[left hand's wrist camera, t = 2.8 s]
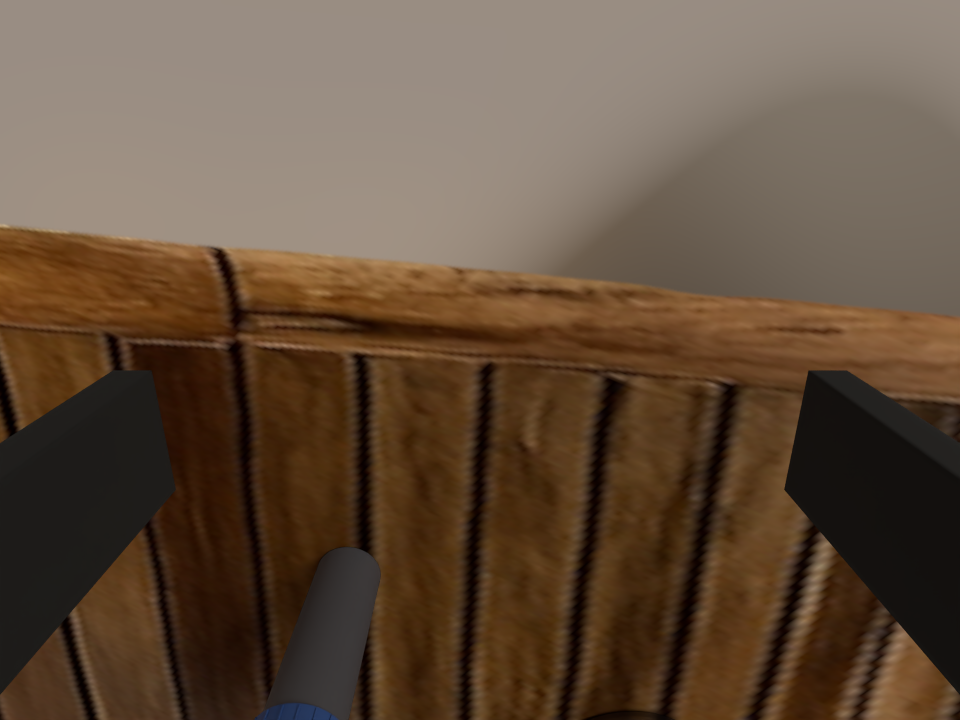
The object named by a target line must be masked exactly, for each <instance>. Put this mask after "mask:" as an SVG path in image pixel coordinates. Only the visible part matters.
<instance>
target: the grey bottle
mask: <svg viewBox="0 0 960 720" xmlns="http://www.w3.org/2000/svg"><path fill="white" fill-rule="evenodd" d="M379 582H380V568H379V566H378V564H377V562H376V561H375V559H374V558H373V557H372V556H371V555H369V554H368V553H366V552H365V551H363V550H360V549H357V548H352V547H341V548H337V549H334V550H332V551H330V552H328V553H327V554H325V555H324V556H323V557H322V559H321V560H320V562H319V564H318V567H317V570H316V572H315V575H314V578H313V580H312V583H311V586H310V588H309V591H308V594H307V596H306V599H305V602H304V604H303V607H302V610H301V612H300V615H299V618H298V620H297V623H296V626H295V628H294V631H293V634H292V636H291V639H290V642H289V644H288V647H287V650H286V652H285V655H284V658H283V660H282V663H281V666H280V668H279V671H278V674H277V676H276V679H275V682H274V684H273V687H272V690H271V692H270V695H269V698H268V700H267V703H266V706H265V708H264V711H265V710H267V709H268V708H271V707H273V706H276V705H280V704H285V703H303V704H309V705H313V706H316V707H319V708H322V709H324V710H326V711H328V712H329V713H331V714H332V715H334V716H335V717H336V718H337V719H338V720H349V715H350V711H351V706H352V702H353V697H354V693H355V688H356V684H357V680H358V675H359V671H360V666H361V662H362V657H363V653H364V648H365V644H366V640H367V635H368V631H369V626H370V622H371V617H372V613H373V608H374V604H375V599H376V595H377V591H378V586H379Z"/></svg>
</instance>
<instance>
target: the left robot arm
mask: <svg viewBox="0 0 960 720" xmlns="http://www.w3.org/2000/svg"><path fill="white" fill-rule="evenodd" d="M175 490H176V489H175V484H174V479H173V474H172V469H171V464H170V459H169V454H168V449H167V445H166V440H165V435H164V430H163V425H162V420H161V415H160V410H159V405H158V400H157V395H156V391H155V386H154V381H153V376H152V371H112V372H110V373H109V374H107V375H105V376H104V377H102V378H101V379H99V380H98V381H96V382H95V383H93V384H92V385H90V386H88V387H87V388H85V389H84V390H82V391H81V392H79V393H78V394H76V395H74V396H73V397H71V398H70V399H68V400H67V401H65V402H64V403H62V404H60V405H59V406H57V407H56V408H54V409H53V410H51V411H50V412H48V413H46V414H45V415H43V416H42V417H40V418H39V419H37V420H36V421H34V422H33V423H31V424H29V425H28V426H26V427H25V428H23V429H22V430H20V431H19V432H17V433H15V434H14V435H12V436H11V437H9V438H8V439H6V440H5V441H3V442H1V443H0V694H1V693H2V692H3V691H4V689H5V688H6V687H7V686H8V685H9V684H10V682H11V681H12V680H13V679H14V678H15V677H16V675H17V674H18V673H19V672H20V671H21V670H22V668H23V667H24V666H25V665H26V664H27V663H28V661H29V660H30V659H31V658H32V657H33V656H34V654H35V653H36V652H37V651H38V650H39V649H40V647H41V646H42V645H43V644H44V643H45V642H46V640H47V639H48V638H49V637H50V636H51V635H52V633H53V632H54V631H55V630H56V629H57V628H58V626H59V625H60V624H61V623H62V622H63V621H64V619H65V618H66V617H67V616H68V615H69V614H70V612H71V611H72V610H73V609H74V608H75V607H76V605H77V604H78V603H79V602H80V601H81V600H82V598H83V597H84V596H85V595H86V594H87V593H88V591H89V590H90V589H91V588H92V587H93V586H94V584H95V583H96V582H97V581H98V580H99V579H100V577H101V576H102V575H103V574H104V573H105V572H106V570H107V569H108V568H109V567H110V566H111V565H112V563H113V562H114V561H115V560H116V559H117V558H118V556H119V555H120V554H121V553H122V552H123V551H124V549H125V548H126V547H127V546H128V545H129V544H130V542H131V541H132V540H133V539H134V538H135V537H136V535H137V534H138V533H139V532H140V531H141V530H142V528H143V527H144V526H145V525H146V524H147V523H148V521H149V520H150V519H151V518H152V517H153V516H154V514H155V513H156V512H157V511H158V510H159V509H160V507H161V506H162V505H163V504H164V503H165V502H166V500H167V499H168V498H169V497H170V496H171V495H172V493H173V492H174V491H175ZM784 490H785V491H786V492H787V493H788V495H789V496H790V497H791V498H792V499H793V500H794V502H795V503H796V504H797V505H798V506H799V507H800V509H801V510H802V511H803V512H804V513H805V514H806V516H807V517H808V518H809V519H810V520H811V521H812V523H813V524H814V525H815V526H816V527H817V528H818V530H819V531H820V532H821V533H822V534H823V535H824V537H825V538H826V539H827V540H828V541H829V542H830V544H831V545H832V546H833V547H834V548H835V549H836V551H837V552H838V553H839V554H840V555H841V556H842V558H843V559H844V560H845V561H846V562H847V563H848V565H849V566H850V567H851V568H852V569H853V570H854V572H855V573H856V574H857V575H858V576H859V577H860V579H861V580H862V581H863V582H864V583H865V584H866V586H867V587H868V588H869V589H870V590H871V591H872V593H873V594H874V595H875V596H876V597H877V598H878V600H879V601H880V602H881V603H882V604H883V605H884V607H885V608H886V609H887V610H888V611H889V612H890V614H891V615H892V616H893V617H894V618H895V619H896V621H897V622H898V623H899V624H900V625H901V626H902V628H903V629H904V630H905V631H906V632H907V633H908V635H909V636H910V637H911V638H912V639H913V640H914V642H915V643H916V644H917V645H918V646H919V647H920V649H921V650H922V651H923V652H924V653H925V654H926V656H927V657H928V658H929V659H930V660H931V661H932V663H933V664H934V665H935V666H936V667H937V668H938V670H939V671H940V672H941V673H942V674H943V675H944V677H945V678H946V679H947V680H948V681H949V682H950V684H951V685H952V686H953V687H954V688H955V689H956V691H957V692H958V693H959V694H960V443H959V442H957V441H955V440H954V439H952V438H951V437H949V436H948V435H946V434H945V433H943V432H941V431H940V430H938V429H937V428H935V427H934V426H932V425H931V424H929V423H927V422H926V421H924V420H923V419H921V418H920V417H918V416H917V415H915V414H914V413H912V412H910V411H909V410H907V409H906V408H904V407H903V406H901V405H900V404H898V403H896V402H895V401H893V400H892V399H890V398H889V397H887V396H886V395H884V394H882V393H881V392H879V391H878V390H876V389H875V388H873V387H872V386H870V385H868V384H867V383H865V382H864V381H862V380H861V379H859V378H858V377H856V376H855V375H853V374H851V373H850V372H848V371H808V376H807V381H806V386H805V391H804V395H803V400H802V405H801V410H800V415H799V420H798V425H797V430H796V435H795V440H794V445H793V449H792V454H791V459H790V464H789V469H788V474H787V479H786V484H785V489H784ZM589 720H674V719H671V718H669V717H666V716H662V715H659V714H654V713H648V712H635V711H630V712H617V713H611V714H606V715H602V716H598V717H595V718H592V719H589Z"/></svg>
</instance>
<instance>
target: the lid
mask: <svg viewBox="0 0 960 720" xmlns="http://www.w3.org/2000/svg"><path fill="white" fill-rule="evenodd" d="M254 720H338V719H337V718H336V717H335V716H334V715H332V714H331V713H329V712H328V711H326V710H324V709H322V708H319V707H316V706H313V705H309V704H303V703H285V704H280V705H276V706H273V707H271V708H268V709H267V710H265V711H263V712H262V713H261V714H259V715H258V716H257V717H255V719H254Z"/></svg>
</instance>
